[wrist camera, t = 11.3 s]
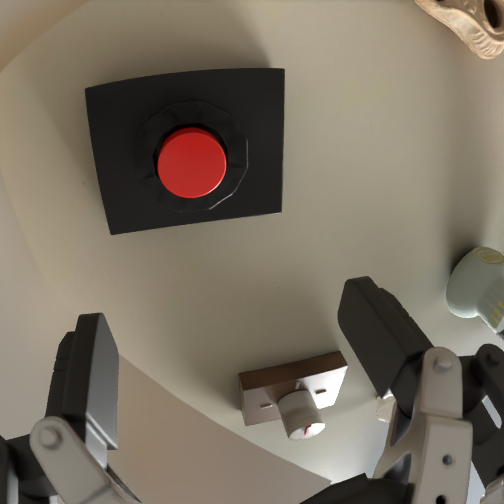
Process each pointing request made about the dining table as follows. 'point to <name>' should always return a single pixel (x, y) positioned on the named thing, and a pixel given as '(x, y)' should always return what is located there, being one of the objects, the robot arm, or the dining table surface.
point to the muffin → (385, 408)
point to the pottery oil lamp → (472, 22)
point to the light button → (191, 162)
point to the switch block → (183, 116)
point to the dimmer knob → (300, 415)
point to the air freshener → (478, 287)
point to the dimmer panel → (290, 385)
